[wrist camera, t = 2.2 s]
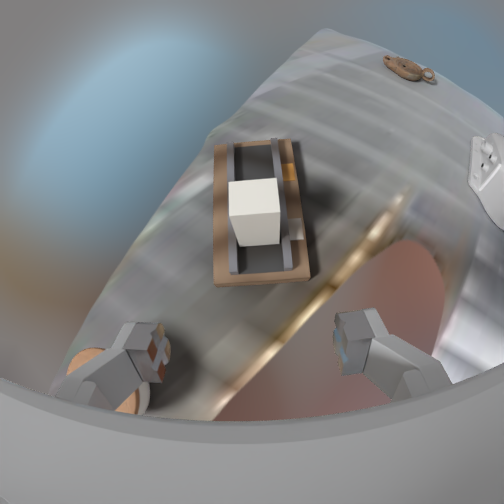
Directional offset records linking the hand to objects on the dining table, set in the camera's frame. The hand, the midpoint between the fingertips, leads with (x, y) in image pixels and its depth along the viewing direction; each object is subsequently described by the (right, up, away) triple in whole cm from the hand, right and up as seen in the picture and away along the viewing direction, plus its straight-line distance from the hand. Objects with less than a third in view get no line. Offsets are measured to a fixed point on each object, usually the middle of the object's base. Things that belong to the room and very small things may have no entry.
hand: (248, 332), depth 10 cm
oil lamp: (+37, +45, +40) cm, 71 cm away
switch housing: (+1, +9, +30) cm, 31 cm away
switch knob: (+1, +6, +26) cm, 27 cm away
